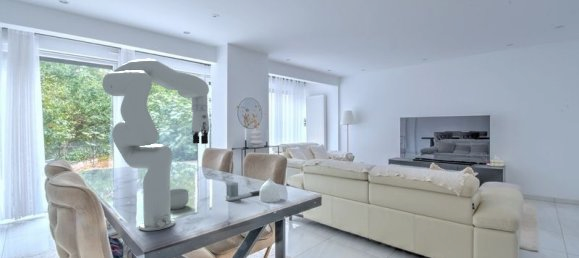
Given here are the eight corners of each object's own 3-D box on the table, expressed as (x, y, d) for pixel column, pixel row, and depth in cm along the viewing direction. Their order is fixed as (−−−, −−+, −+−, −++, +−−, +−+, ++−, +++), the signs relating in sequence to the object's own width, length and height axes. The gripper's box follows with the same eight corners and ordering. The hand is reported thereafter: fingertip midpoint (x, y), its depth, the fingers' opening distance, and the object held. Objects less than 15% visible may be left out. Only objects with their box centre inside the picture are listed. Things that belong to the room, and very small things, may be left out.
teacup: (192, 204, 139) (192, 188, 139) (182, 210, 128) (182, 193, 128) (166, 204, 140) (165, 188, 140) (153, 210, 129) (153, 193, 129)
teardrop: (255, 201, 143) (255, 178, 143) (263, 196, 153) (263, 174, 154) (276, 202, 140) (275, 178, 140) (282, 197, 150) (282, 175, 150)
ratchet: (265, 194, 158) (265, 185, 158) (230, 202, 143) (229, 192, 143) (258, 192, 163) (258, 184, 163) (223, 199, 148) (223, 190, 148)
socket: (238, 195, 148) (238, 182, 148) (230, 197, 145) (230, 183, 145) (233, 194, 151) (233, 181, 151) (226, 195, 148) (226, 182, 148)
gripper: (214, 108, 135) (215, 143, 135) (199, 110, 148) (200, 142, 148) (200, 107, 130) (200, 144, 130) (185, 110, 143) (186, 143, 143)
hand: (200, 143), depth 139 cm, fingers open, 9 cm apart
